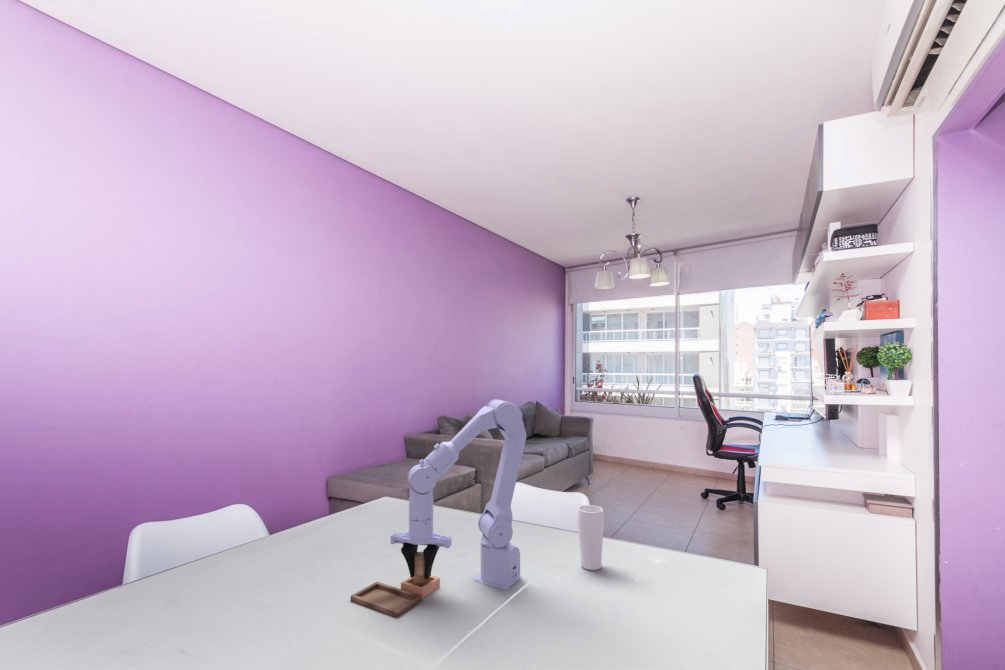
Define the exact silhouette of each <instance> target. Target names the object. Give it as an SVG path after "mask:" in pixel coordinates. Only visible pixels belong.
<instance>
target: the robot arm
mask: <svg viewBox="0 0 1005 670" xmlns="http://www.w3.org/2000/svg"><path fill="white" fill-rule="evenodd" d="M491 429H498V431H499V432H500V433H501V435H502V436H503V437H504V442H503V444H502V445H503V446H502V450H501V454H500V459H499V461H498V462H499V463H498V467H497V470H496V475H495V478H494V484H493V488H492V493H491V496H490V500H489V501H488V502H487V503H486V504H485V508H484V511H482V513H481V514H480V517H479V519H478V522H477V524H478V529H479V531H480V532H481V533H482V536H481V539H480V573H479V575H478V576H476V577H474V578H473V581H474V582H478V583H481V584H484V585H487V586H491V587H494V588H498V589H502V590H508V589H510V587H512V586H513V585H514V584H515V583H516V582H518V581H519V580H520V579H521V578H522V575H521V551H520V548H519V547H517V546H515V545H513V544H512V543H511V540H512V538H513V534H514V531H513V526H512V523H513V517H514V516H513V512H512V511H513V510H512V506H511V505H512V502H513V497H514V493H515V488H516V485H517V480H518V476H519V471H520V467H521V461H522V458H523V455H524V454H523V453H524V448H525V445H526V441H527V431H526V428H525V424H524V420H523V412H522V410H521V409H520V408H519V406H517V404H516V403H515V402H512V401H510V400H509V401H508V400H502V399H500V398H494V399H492V400H490V401H489V402H488V403H487V404H486V405H484V406H482V408H480V409H479V410H478V412H477V413H476V414H475V415H474V416H473V417H472V418H471V419H470V420H469V421H468V422H467V423H466V424H465V425H464V426H463V427H462V428H461V430H459V431H458V432H457V434H456V435H455V436H453V438H451V440H450V441H442V442H441V443H440V444H439V443H438V442H437V443H436V444H435V445H434V446H433V448H434V449H433V450H432V451H431V452H430V453H429V454H428V455H427V456H426V457H425V458H424V459H423V458H421V459H420V460H419V464H415V465H414V466H413V467H411V469H409V473H408V475H407V476H406V479H407V482H408V484H409V485H410V487H409V493H408V494H409V498H408V532H393V533H392V534H391V535H390V545H396V544H401V545H402V547H401V548H400V552H401V555H402V556H403V558H404V559H405V562H406V564H407V569H408V571H409V572H408V573H409V576H410V577H411V578H413V577H414V554H415V553H417V552H418V549H419V546H426V547H425V548H424V549H423V550H422V552H423V554H424V560H425V579H428V578H429V577H430V576H432V575H431V574H432V570H433V565H434V561H435V559H436V556H437V554H438V551H439V549H440V548H441V547H443V548H445V549H450V548H451V546H452V536H447V535H442V534H438V533H434V493H433V492H434V489H435V487H436V484H437V479H440V478H441V476H443V475H444V474H445V473H446V472H447V471H448V470H449V469H450V468H451V467H452V466H453V465H455V463H456V462H457V461H458V460H459V458H460V457H459V455H460V451H462V450H463V449H464V448H465V447H466V446H467V445H468V444H469V443H470V442H471V441H473V440H474V439H475V438H476V437H478V435H479V434H481V433H482V432H483V431H485V430H491ZM410 577H409V578H410Z"/></svg>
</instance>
